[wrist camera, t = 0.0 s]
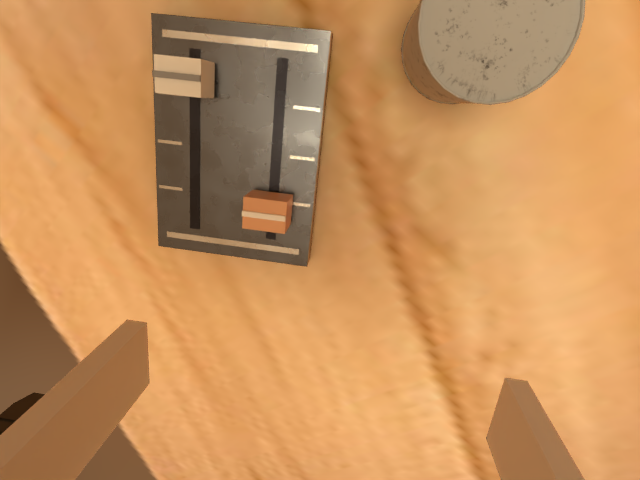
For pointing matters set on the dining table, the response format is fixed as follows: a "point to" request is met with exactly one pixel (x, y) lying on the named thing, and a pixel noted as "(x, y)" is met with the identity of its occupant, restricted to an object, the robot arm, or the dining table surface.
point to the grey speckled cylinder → (488, 47)
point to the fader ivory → (184, 76)
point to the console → (240, 135)
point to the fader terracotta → (267, 211)
